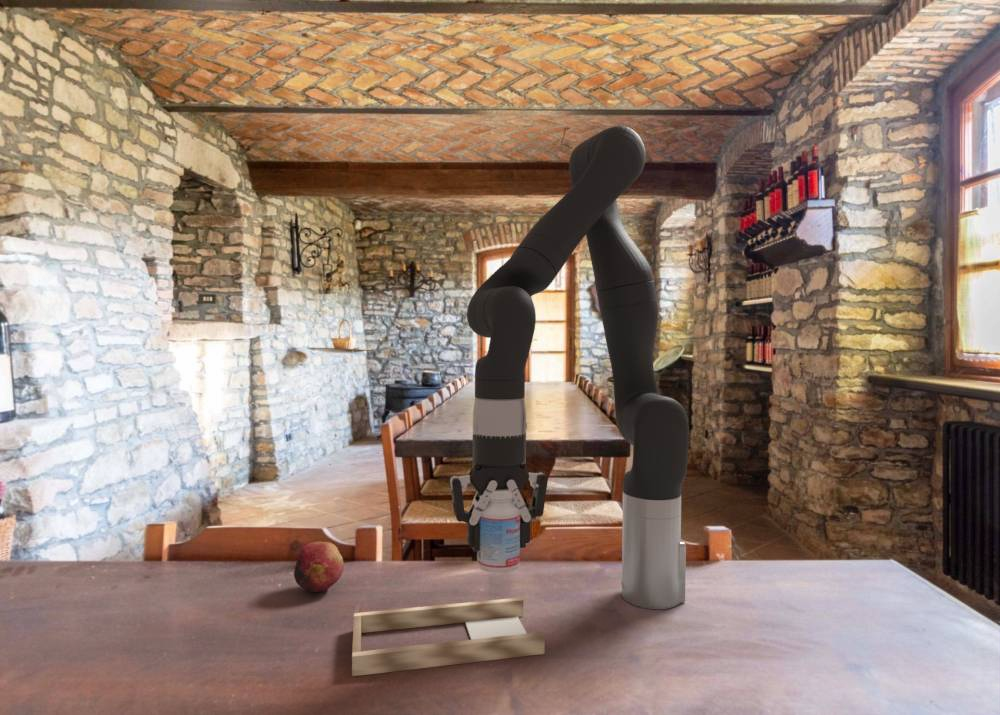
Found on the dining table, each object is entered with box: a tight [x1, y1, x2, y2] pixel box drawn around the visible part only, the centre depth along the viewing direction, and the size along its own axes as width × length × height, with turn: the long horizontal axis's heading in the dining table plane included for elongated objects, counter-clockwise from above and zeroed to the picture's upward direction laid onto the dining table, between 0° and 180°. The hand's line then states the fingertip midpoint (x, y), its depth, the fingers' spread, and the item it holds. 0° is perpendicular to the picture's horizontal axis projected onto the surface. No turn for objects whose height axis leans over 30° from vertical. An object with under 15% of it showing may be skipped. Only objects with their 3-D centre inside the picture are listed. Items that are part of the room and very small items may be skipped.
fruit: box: [293, 541, 345, 593], centre depth 99 cm, size 8×8×8 cm
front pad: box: [464, 617, 527, 640], centre depth 84 cm, size 8×9×1 cm
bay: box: [351, 596, 546, 677], centre depth 82 cm, size 25×12×2 cm, turn 103°
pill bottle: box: [476, 489, 521, 574], centre depth 84 cm, size 6×6×11 cm
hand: (498, 547), depth 84 cm, fingers closed on pill bottle, 6 cm apart
